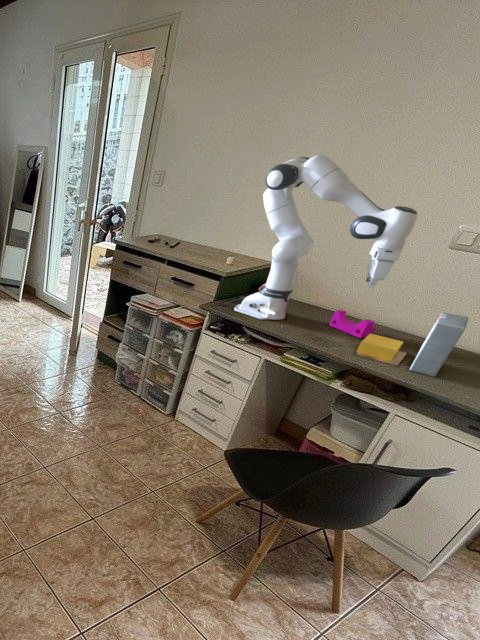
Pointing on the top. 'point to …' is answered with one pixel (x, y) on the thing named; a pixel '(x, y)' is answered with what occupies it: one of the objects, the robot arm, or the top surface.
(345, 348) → the top surface
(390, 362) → the cork pad
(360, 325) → the magenta u-shaped bracket
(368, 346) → the yellow block
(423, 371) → the hard drive box
